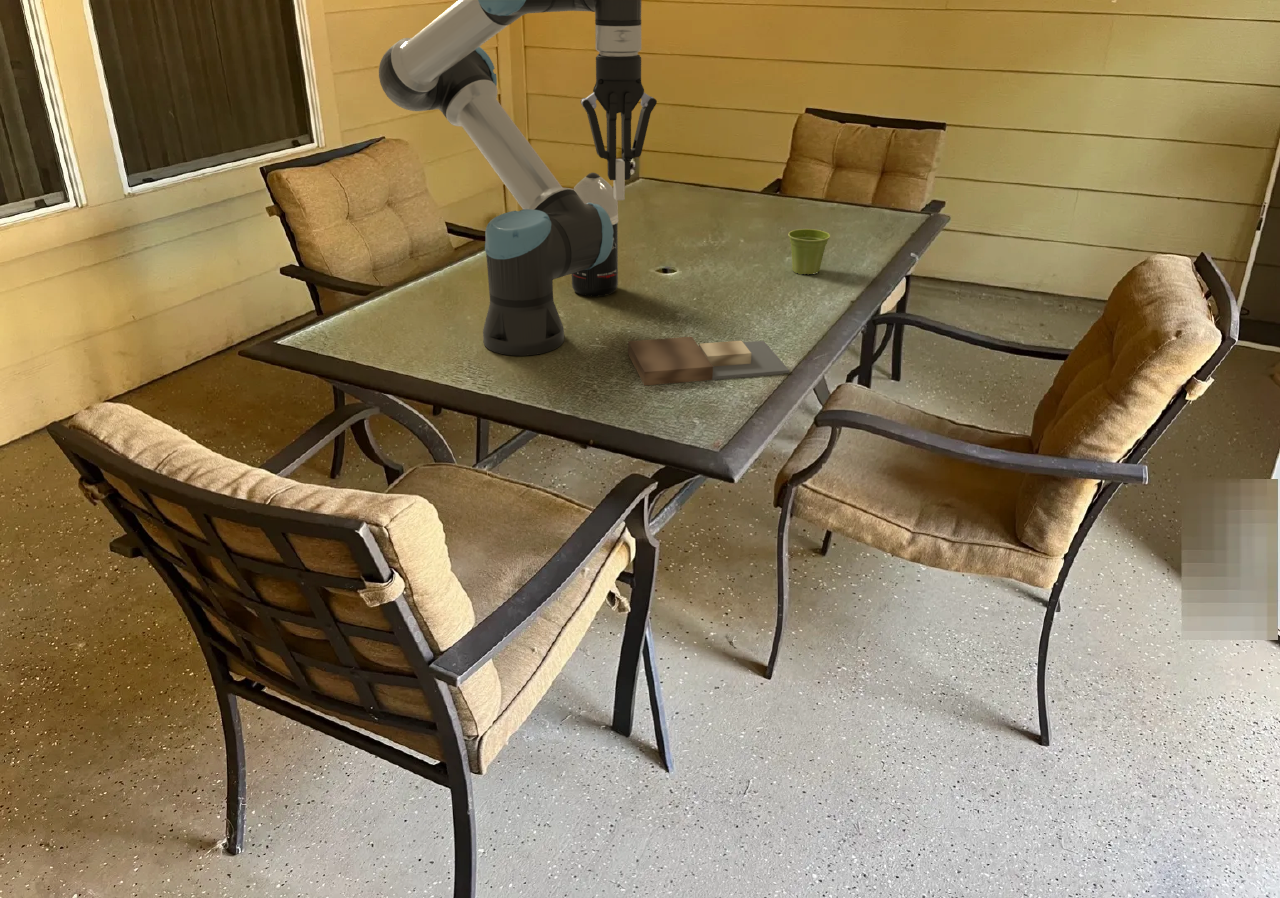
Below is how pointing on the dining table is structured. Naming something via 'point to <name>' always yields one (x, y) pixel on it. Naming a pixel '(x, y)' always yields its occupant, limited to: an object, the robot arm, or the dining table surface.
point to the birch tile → (726, 353)
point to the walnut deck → (669, 361)
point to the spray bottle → (606, 273)
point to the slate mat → (753, 364)
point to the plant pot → (807, 249)
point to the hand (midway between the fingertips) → (619, 198)
